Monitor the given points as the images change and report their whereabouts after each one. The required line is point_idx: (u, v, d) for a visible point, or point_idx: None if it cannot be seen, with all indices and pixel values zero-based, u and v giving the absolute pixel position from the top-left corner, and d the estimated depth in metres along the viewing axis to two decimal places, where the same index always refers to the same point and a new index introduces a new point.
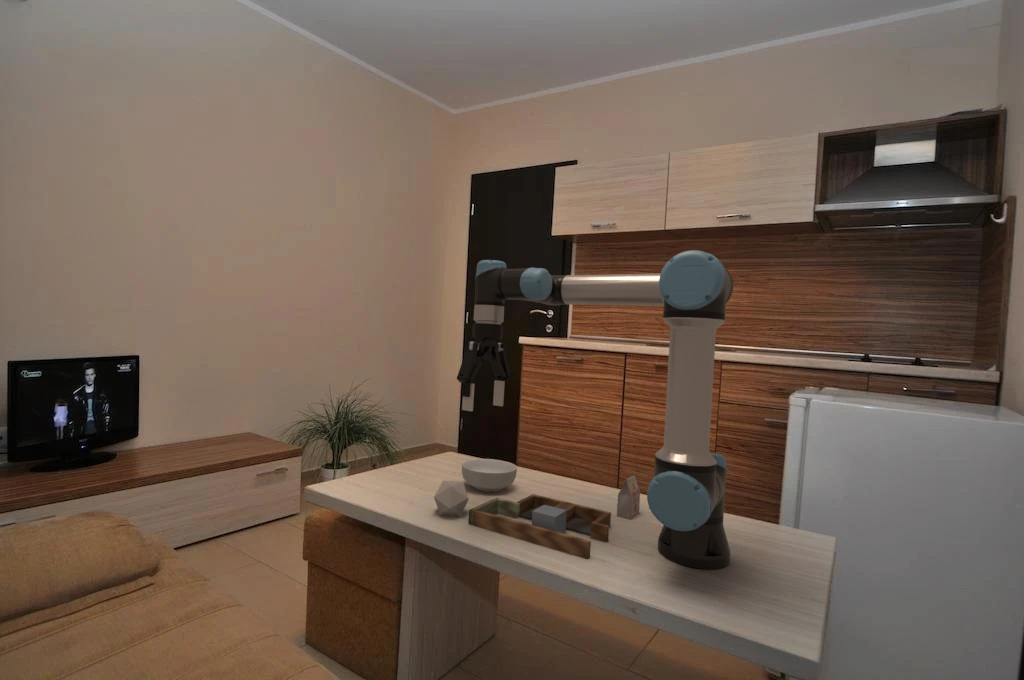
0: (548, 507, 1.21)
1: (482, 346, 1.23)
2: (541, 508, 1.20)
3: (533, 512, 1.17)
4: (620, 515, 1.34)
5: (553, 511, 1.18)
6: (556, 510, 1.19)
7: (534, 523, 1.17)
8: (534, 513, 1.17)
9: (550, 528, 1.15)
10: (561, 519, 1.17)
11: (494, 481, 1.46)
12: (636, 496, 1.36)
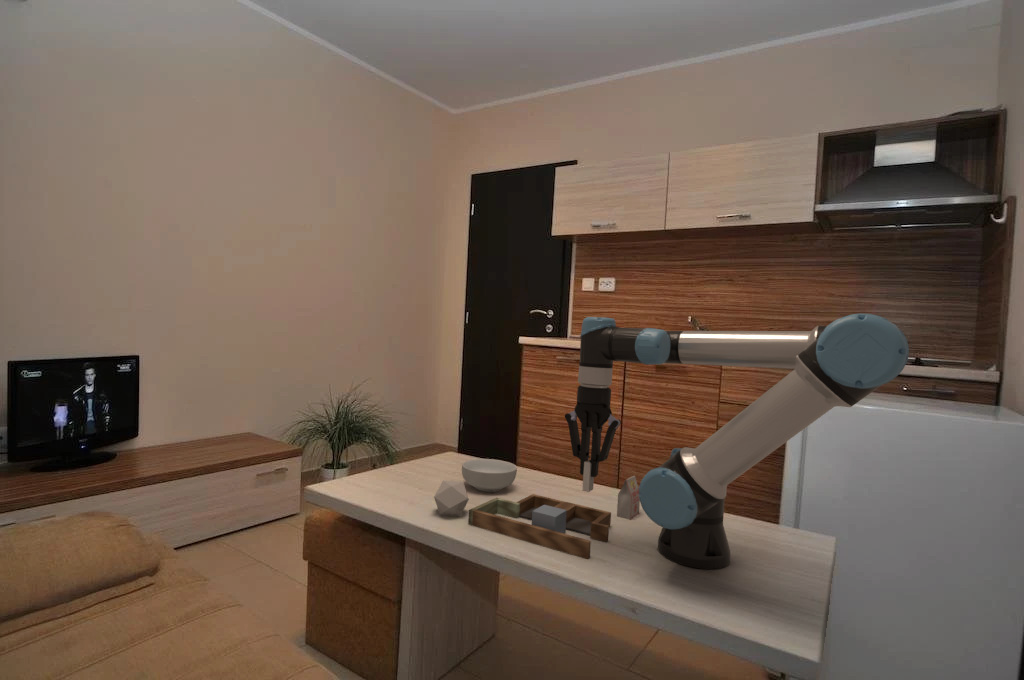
0: (548, 507, 1.21)
1: (577, 411, 1.15)
2: (541, 508, 1.20)
3: (533, 512, 1.17)
4: (620, 515, 1.34)
5: (553, 511, 1.18)
6: (556, 510, 1.19)
7: (534, 523, 1.17)
8: (534, 513, 1.17)
9: (550, 528, 1.15)
10: (561, 519, 1.17)
11: (494, 481, 1.46)
12: (636, 496, 1.36)
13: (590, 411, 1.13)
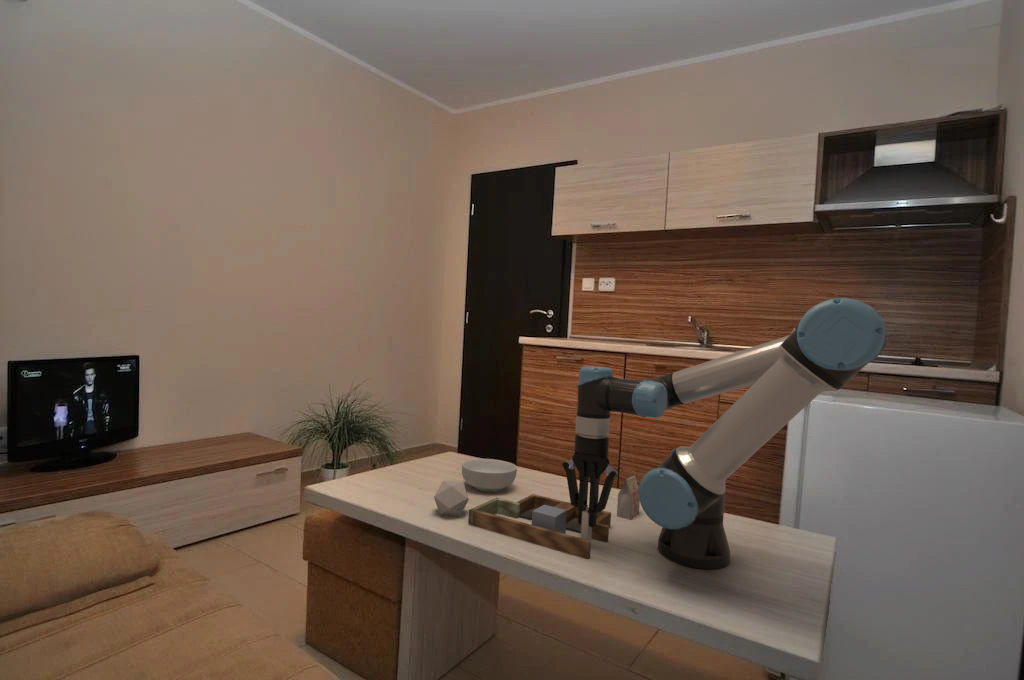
0: (548, 507, 1.21)
1: (574, 460, 1.15)
2: (541, 508, 1.20)
3: (533, 512, 1.17)
4: (620, 515, 1.34)
5: (553, 511, 1.18)
6: (556, 510, 1.19)
7: (534, 523, 1.17)
8: (534, 513, 1.17)
9: (550, 528, 1.15)
10: (561, 519, 1.17)
11: (494, 481, 1.46)
12: (636, 496, 1.36)
13: (588, 461, 1.13)
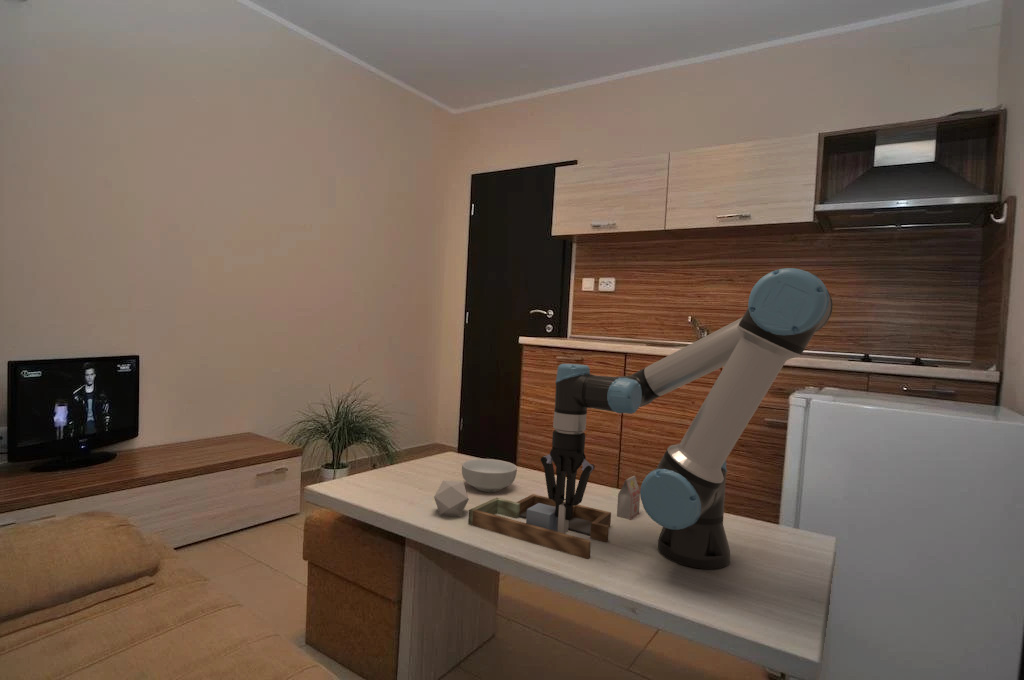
0: (543, 505, 1.22)
1: (552, 455, 1.18)
2: (536, 506, 1.20)
3: (528, 510, 1.18)
4: (620, 515, 1.34)
5: (547, 509, 1.19)
6: (551, 509, 1.19)
7: (529, 521, 1.18)
8: (529, 511, 1.18)
9: (544, 526, 1.16)
10: (555, 517, 1.18)
11: (494, 481, 1.46)
12: (636, 496, 1.36)
13: (565, 456, 1.16)
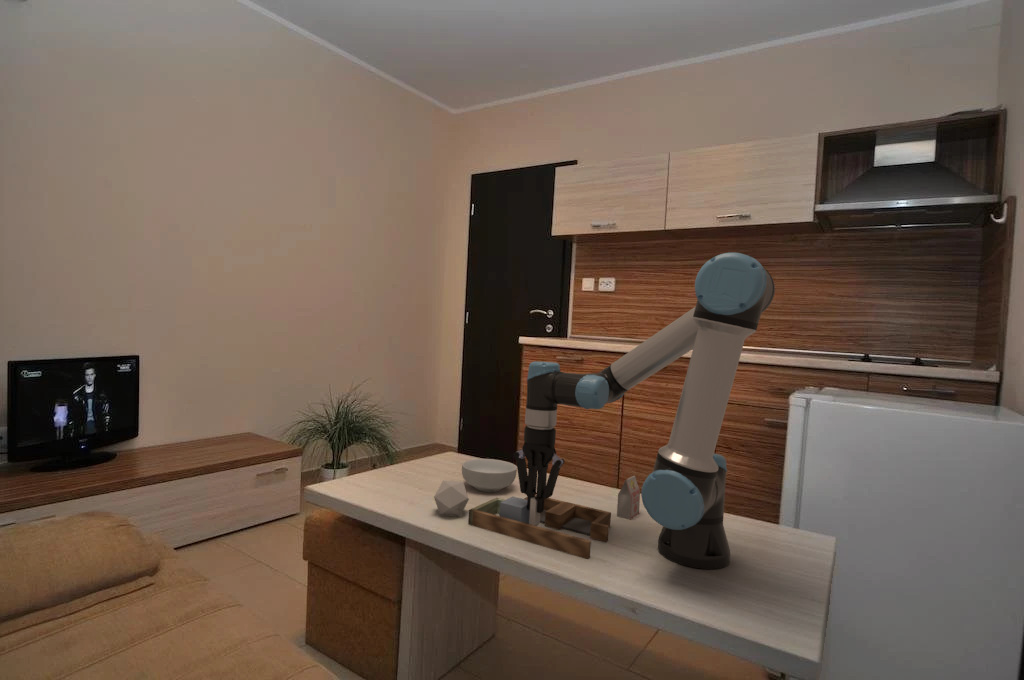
0: (516, 499, 1.25)
1: (524, 450, 1.21)
2: (509, 500, 1.24)
3: (501, 503, 1.22)
4: (620, 515, 1.34)
5: (520, 503, 1.23)
6: (523, 502, 1.23)
7: (502, 514, 1.22)
8: (502, 504, 1.22)
9: (516, 518, 1.20)
10: (527, 510, 1.22)
11: (494, 481, 1.46)
12: (636, 496, 1.36)
13: (536, 450, 1.20)
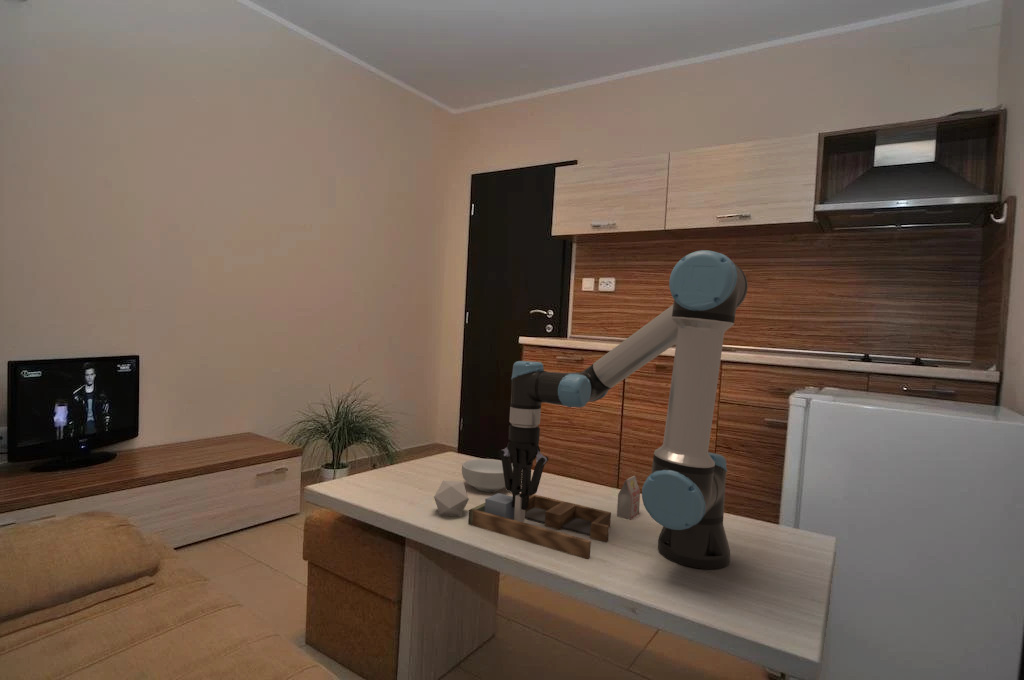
0: (501, 495, 1.28)
1: (509, 448, 1.24)
2: (494, 496, 1.27)
3: (486, 500, 1.24)
4: (620, 515, 1.34)
5: (505, 499, 1.25)
6: (509, 498, 1.25)
7: (487, 510, 1.24)
8: (487, 501, 1.24)
9: (501, 515, 1.22)
10: None
11: (494, 481, 1.46)
12: (636, 496, 1.36)
13: (520, 448, 1.22)
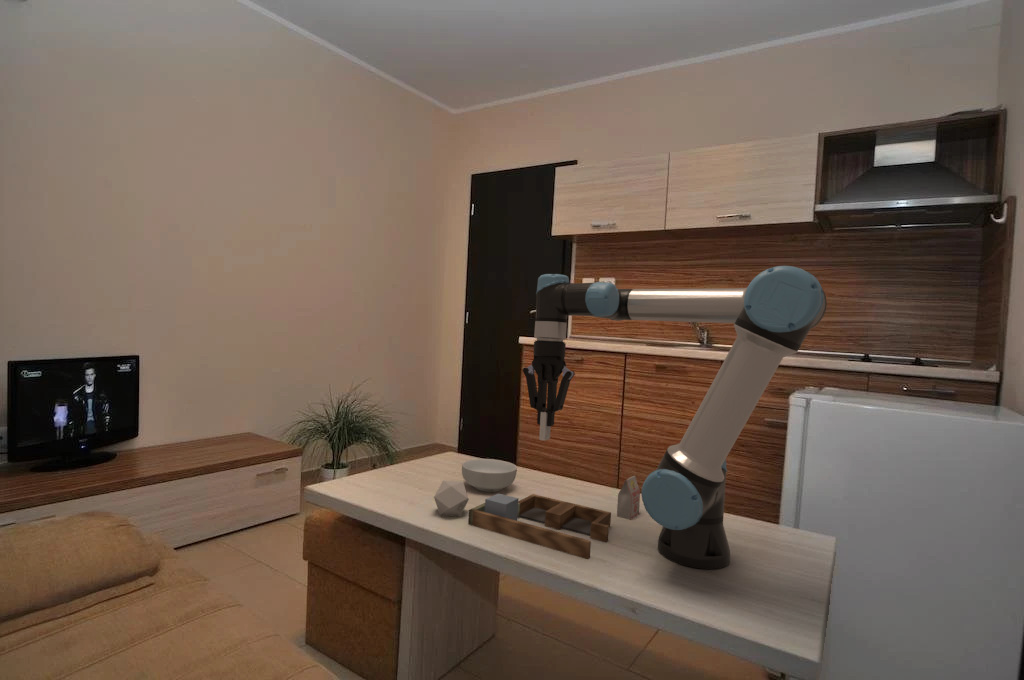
0: (501, 496, 1.28)
1: (533, 365, 1.21)
2: (494, 496, 1.27)
3: (486, 500, 1.24)
4: (620, 515, 1.34)
5: (505, 499, 1.25)
6: (508, 499, 1.25)
7: (487, 510, 1.24)
8: (487, 501, 1.24)
9: (501, 515, 1.22)
10: (512, 507, 1.24)
11: (494, 481, 1.46)
12: (636, 496, 1.36)
13: (546, 364, 1.19)
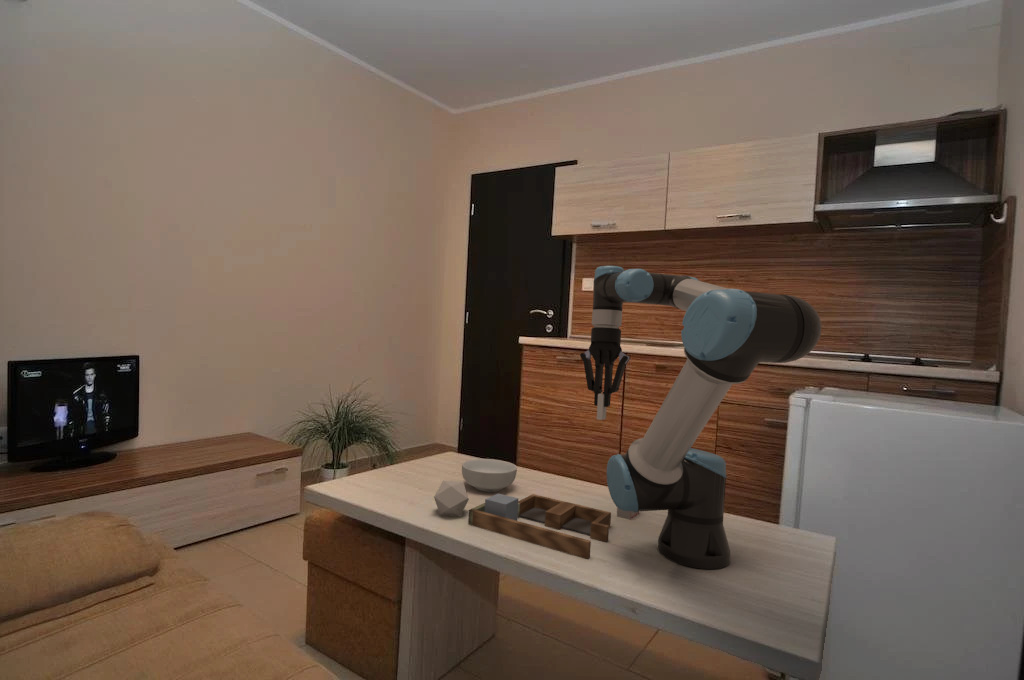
0: (501, 496, 1.28)
1: (591, 350, 1.30)
2: (494, 496, 1.27)
3: (486, 500, 1.24)
4: (620, 515, 1.34)
5: (505, 499, 1.25)
6: (508, 499, 1.25)
7: (487, 510, 1.24)
8: (487, 501, 1.24)
9: (501, 515, 1.22)
10: (512, 507, 1.24)
11: (494, 481, 1.46)
12: None
13: (603, 349, 1.29)
